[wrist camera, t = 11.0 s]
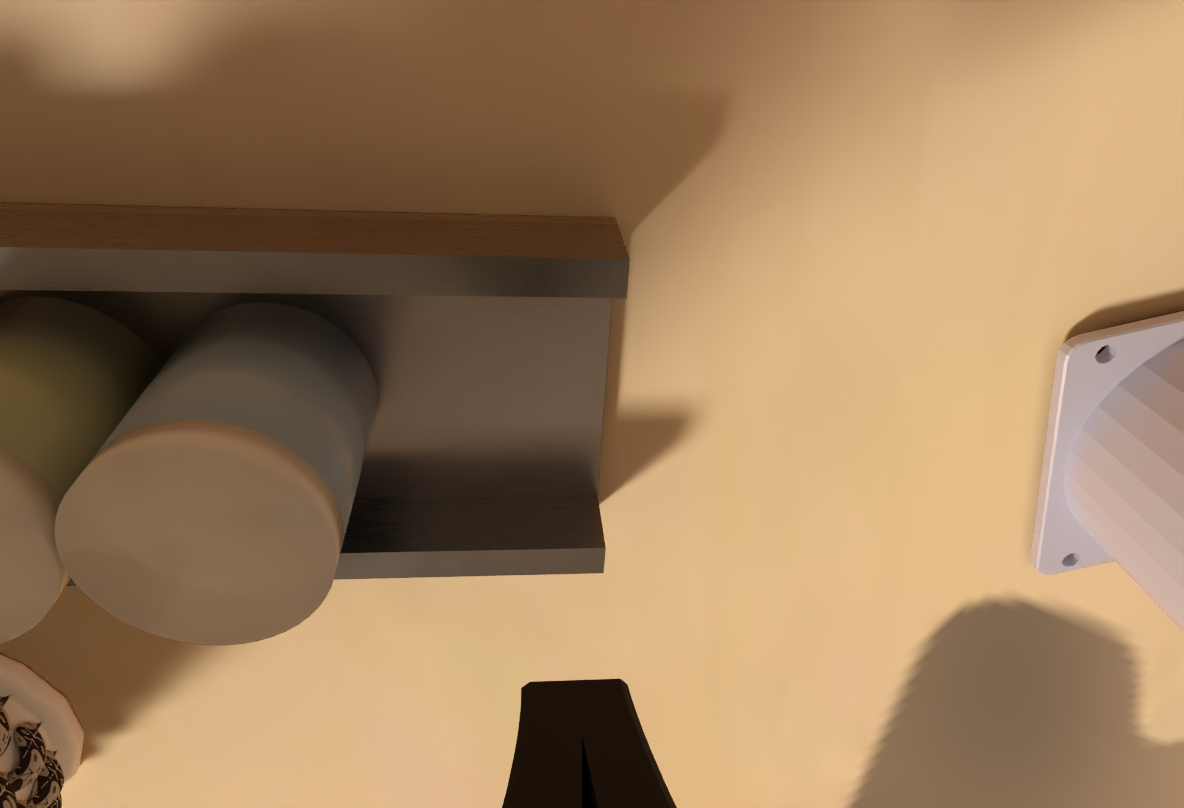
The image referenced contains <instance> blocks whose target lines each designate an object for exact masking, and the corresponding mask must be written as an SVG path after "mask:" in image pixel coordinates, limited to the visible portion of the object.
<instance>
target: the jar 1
mask: <svg viewBox="0 0 1184 808" xmlns="http://www.w3.org/2000/svg"><path fill="white" fill-rule="evenodd" d="M162 367H163V365H162V364H161V362H160V361H159V359H158V358H157V356H156V355H155V354H154V353H153V351H152V350H151V349H150V348H149V347H148V346H147V345H146V343H144V342H143V341H142V340H141V339H140V338H139V337H138V336H137V335H136V334H135V333H133V332H132V331H131V330H129V329H128V328H127V327H125V326H124V325H123V324H121V323H119V322H118V321H116V320H115V319H113V318H111V317H110V316H108V315H106V314H104V313H101V312H99V311H97V310H95V309H93V308H90V307H87V306H85V305H82V304H79V303H75V302H71V301H68V300H63V299H57V298H51V297H36V296H33V297H19V298H13V299H8V300H4V301H1V302H0V644H1V643H5V642H8V641H10V640H12V639H15V638H17V637H19V636H21V635H23V634H24V633H26V632H28V631H29V630H31V629H32V628H34V627H35V626H36V625H37V624H38V623H39V622H41V621H42V619H43V618H44V617H45V616H46V614H47V613H48V612H49V610H50V609H51V608H52V606H53V605H54V603H55V602H56V600H57V599H58V597H59V596H60V594H61V593H62V591H63V590H64V588H65V587H66V585H67V584H68V582H69V581H70V579H71V577H70V576H69V574H68V573H67V571H66V569H65V567H64V565H63V563H62V561H61V559H60V556H59V553H58V550H57V547H56V541H55V533H54V532H55V519H56V515H57V511H58V508H59V505H60V503H61V501H62V499H63V497H64V495H65V494H66V492H67V491H68V490H69V489H70V487H71V486H72V485H73V483H74V482H75V481H76V479H77V478H78V477H79V475H80V474H81V473H82V472H83V470H84V469H85V468H86V466H87V465H88V464H89V462H90V461H91V460H92V458H93V457H94V456H95V455H96V453H97V452H98V451H99V449H100V448H101V447H102V445H103V444H104V443H105V441H106V440H107V439H108V438H109V436H110V435H111V434H112V432H113V431H114V430H115V428H116V427H117V426H118V424H119V423H120V422H121V421H122V419H123V418H124V417H125V415H126V414H127V413H128V411H129V410H130V409H131V407H132V406H133V405H134V404H135V402H136V401H137V400H138V398H139V397H140V396H141V394H142V393H143V392H144V390H145V389H146V388H147V387H148V385H149V384H150V383H151V381H152V380H153V379H154V377H155V376H156V375H157V373H158V372H159V371H160V370H161V368H162Z"/></svg>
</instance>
